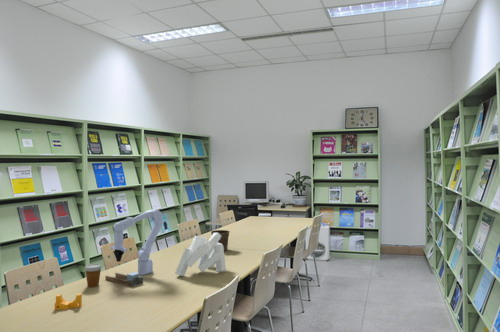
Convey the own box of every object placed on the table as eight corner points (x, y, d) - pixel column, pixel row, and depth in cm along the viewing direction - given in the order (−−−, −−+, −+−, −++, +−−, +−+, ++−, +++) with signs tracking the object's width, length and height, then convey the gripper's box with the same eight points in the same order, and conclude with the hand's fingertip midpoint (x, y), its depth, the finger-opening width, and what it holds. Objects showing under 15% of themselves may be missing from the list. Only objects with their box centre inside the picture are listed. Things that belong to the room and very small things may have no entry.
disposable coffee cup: (83, 288, 228) (83, 268, 228) (85, 283, 237) (85, 264, 237) (100, 287, 230) (100, 267, 230) (102, 282, 240) (102, 263, 240)
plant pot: (208, 249, 334) (208, 230, 334) (225, 247, 341) (225, 229, 341) (214, 253, 319) (214, 233, 319) (232, 251, 326) (232, 232, 326)
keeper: (133, 281, 241) (133, 272, 241) (138, 283, 239) (138, 273, 239) (126, 283, 237) (126, 274, 237) (132, 285, 234) (132, 275, 234)
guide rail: (116, 276, 253) (116, 270, 253) (143, 282, 239) (143, 276, 239) (105, 279, 246) (105, 273, 246) (131, 286, 232) (131, 280, 232)
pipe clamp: (54, 309, 195) (54, 297, 195) (57, 306, 200) (57, 294, 200) (79, 308, 197) (79, 296, 197) (81, 305, 201) (81, 293, 201)
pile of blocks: (197, 291, 239) (223, 241, 241) (164, 267, 253) (189, 220, 255) (222, 290, 270) (245, 246, 272) (191, 268, 284) (214, 226, 286)
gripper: (106, 240, 253) (106, 261, 254) (120, 243, 246) (120, 264, 246) (115, 238, 259) (115, 258, 259) (129, 241, 251) (129, 261, 252)
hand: (118, 261), depth 253 cm, fingers closed
